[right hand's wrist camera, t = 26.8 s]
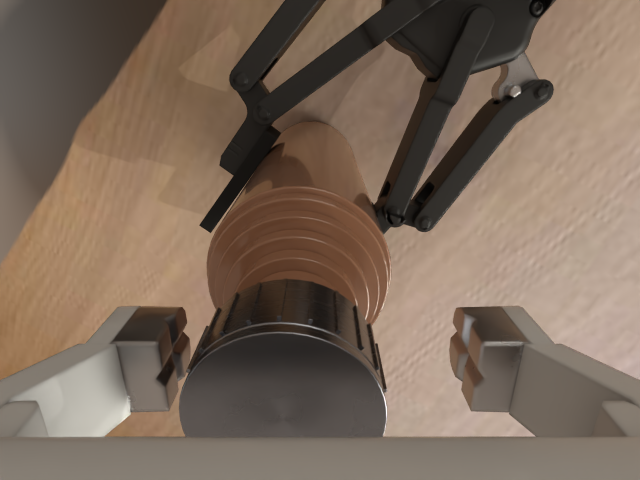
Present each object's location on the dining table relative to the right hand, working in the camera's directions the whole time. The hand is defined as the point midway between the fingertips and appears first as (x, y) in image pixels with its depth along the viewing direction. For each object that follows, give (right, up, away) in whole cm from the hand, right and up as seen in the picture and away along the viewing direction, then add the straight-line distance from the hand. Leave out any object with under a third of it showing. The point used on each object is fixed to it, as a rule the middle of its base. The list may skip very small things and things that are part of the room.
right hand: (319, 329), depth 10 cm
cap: (-1, -1, -2) cm, 2 cm away
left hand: (-4, +1, +15) cm, 16 cm away
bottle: (-1, +8, +20) cm, 21 cm away
